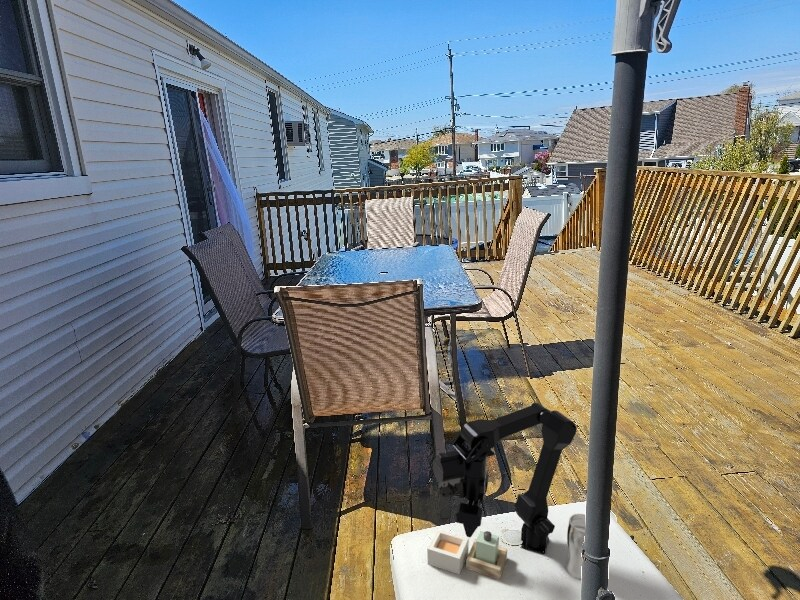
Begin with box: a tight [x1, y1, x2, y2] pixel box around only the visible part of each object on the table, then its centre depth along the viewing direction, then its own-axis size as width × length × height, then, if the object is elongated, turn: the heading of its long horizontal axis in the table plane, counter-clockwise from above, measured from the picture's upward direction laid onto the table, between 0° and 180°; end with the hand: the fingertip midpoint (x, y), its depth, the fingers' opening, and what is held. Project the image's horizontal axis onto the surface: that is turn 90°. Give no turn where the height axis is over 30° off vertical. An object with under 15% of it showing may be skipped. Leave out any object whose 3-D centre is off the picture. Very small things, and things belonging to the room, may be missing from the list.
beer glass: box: [565, 513, 586, 580], centre depth 129 cm, size 7×7×15 cm
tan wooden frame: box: [465, 538, 508, 580], centre depth 134 cm, size 9×8×3 cm
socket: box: [426, 528, 470, 575], centre depth 136 cm, size 9×8×5 cm
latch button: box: [437, 540, 460, 554], centre depth 136 cm, size 6×5×1 cm
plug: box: [475, 530, 500, 565], centre depth 133 cm, size 5×4×10 cm
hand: (471, 524), depth 130 cm, fingers open, 9 cm apart
